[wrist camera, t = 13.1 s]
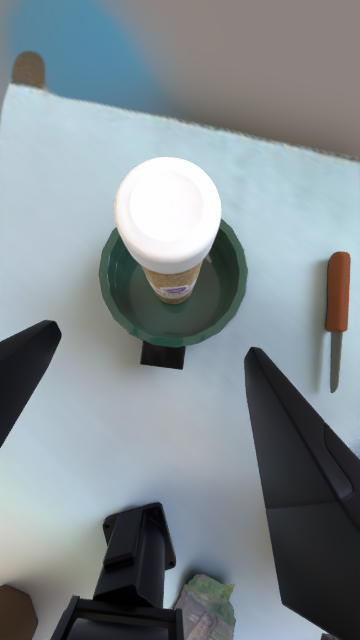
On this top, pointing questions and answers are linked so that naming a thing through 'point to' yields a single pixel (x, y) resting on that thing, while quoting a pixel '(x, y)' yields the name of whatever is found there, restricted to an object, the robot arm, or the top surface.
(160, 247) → the sprinkles bottle
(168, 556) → the robot arm
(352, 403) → the top surface
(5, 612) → the beer bottle
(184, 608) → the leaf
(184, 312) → the pot
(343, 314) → the kitchen knife
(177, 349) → the pot handles
